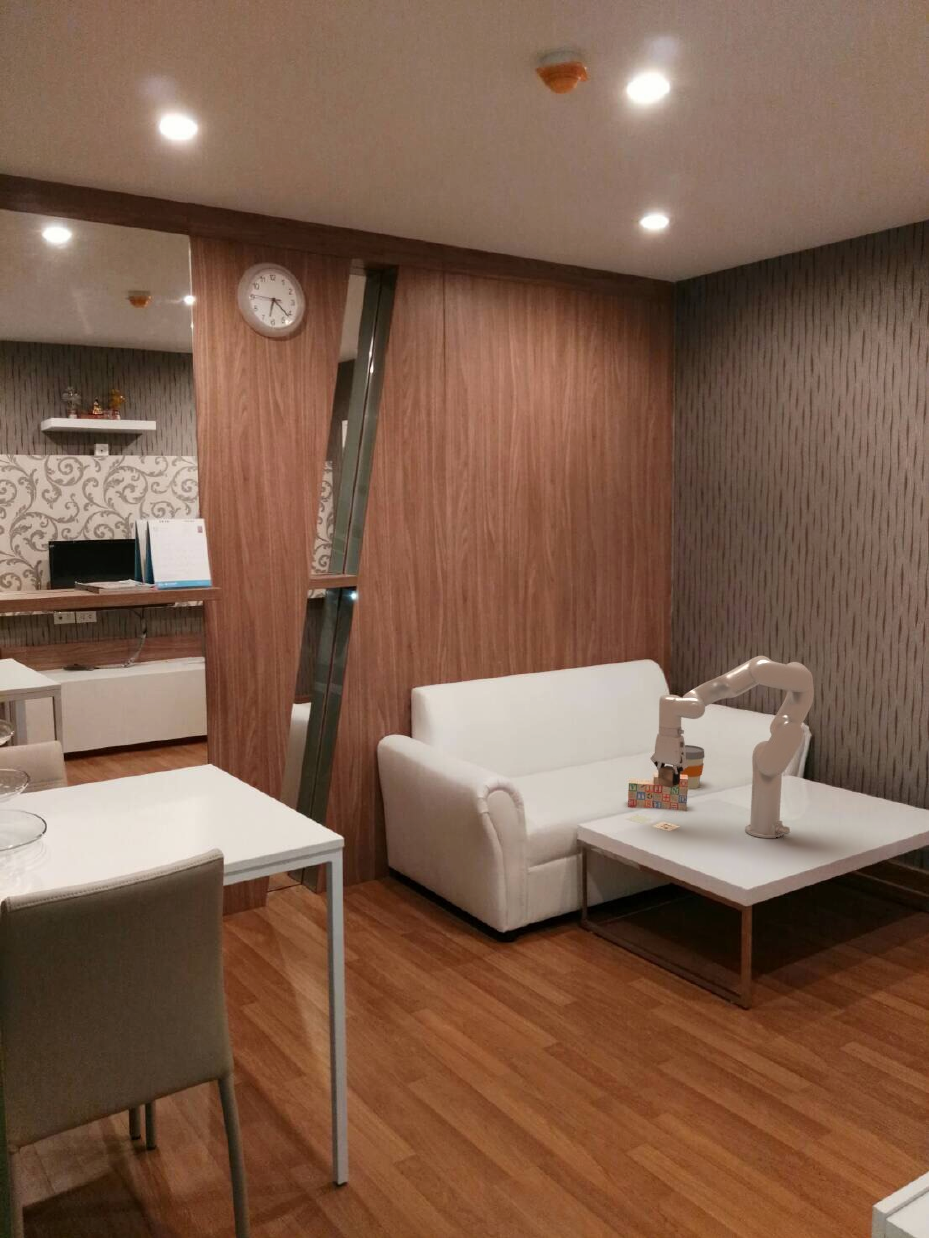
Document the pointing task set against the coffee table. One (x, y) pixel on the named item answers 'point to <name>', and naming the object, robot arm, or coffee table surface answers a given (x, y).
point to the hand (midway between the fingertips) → (669, 782)
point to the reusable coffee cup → (693, 765)
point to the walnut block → (666, 776)
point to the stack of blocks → (658, 794)
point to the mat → (661, 825)
